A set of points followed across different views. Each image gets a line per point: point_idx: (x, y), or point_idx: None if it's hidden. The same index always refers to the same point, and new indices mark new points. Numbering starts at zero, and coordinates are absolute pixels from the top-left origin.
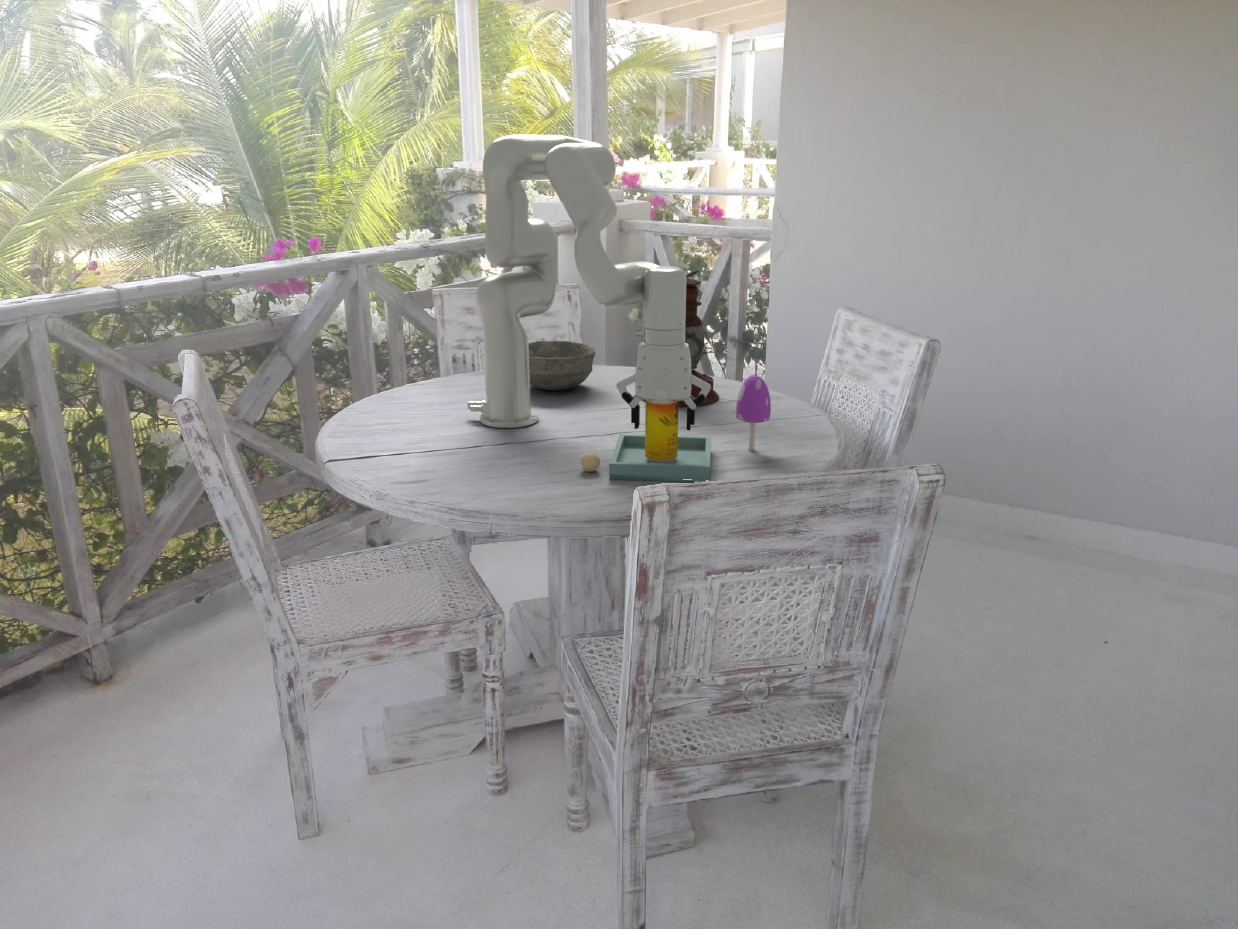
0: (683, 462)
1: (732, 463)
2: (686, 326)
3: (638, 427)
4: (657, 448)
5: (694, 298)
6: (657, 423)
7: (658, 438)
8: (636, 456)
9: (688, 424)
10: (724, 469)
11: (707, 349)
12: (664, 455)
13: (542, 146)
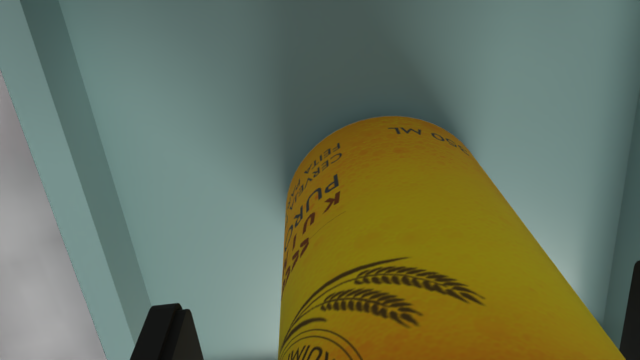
0: (242, 176)
1: (8, 279)
2: None
3: (636, 272)
4: (414, 147)
5: None
6: (476, 256)
7: (425, 181)
8: (529, 218)
9: (155, 338)
10: (14, 184)
11: None
12: (355, 134)
13: None
